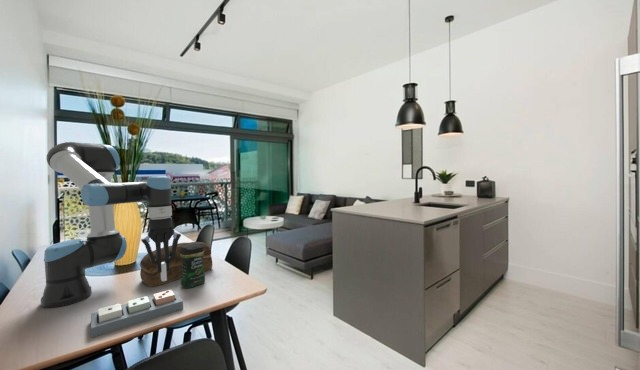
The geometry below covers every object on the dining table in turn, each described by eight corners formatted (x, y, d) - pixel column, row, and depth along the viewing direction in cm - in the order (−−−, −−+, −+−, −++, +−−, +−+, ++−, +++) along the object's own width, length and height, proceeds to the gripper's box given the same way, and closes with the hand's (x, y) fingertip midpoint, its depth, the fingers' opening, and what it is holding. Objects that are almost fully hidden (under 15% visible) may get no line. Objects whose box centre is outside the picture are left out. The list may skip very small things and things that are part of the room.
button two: (129, 314, 91) (129, 306, 91) (127, 308, 96) (127, 300, 95) (150, 308, 95) (149, 301, 95) (147, 302, 99) (147, 295, 99)
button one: (99, 323, 86) (98, 315, 86) (98, 316, 90) (98, 308, 90) (122, 316, 90) (121, 308, 90) (120, 310, 94) (120, 302, 94)
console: (91, 337, 82) (90, 328, 82) (91, 321, 91) (90, 313, 91) (183, 308, 99) (182, 300, 99) (175, 297, 108) (175, 290, 108)
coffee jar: (186, 290, 115) (185, 248, 114) (178, 285, 120) (176, 245, 119) (208, 283, 123) (206, 243, 122) (199, 279, 128) (198, 240, 127)
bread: (137, 281, 126) (135, 248, 126) (202, 263, 151) (201, 235, 150) (148, 289, 117) (146, 254, 116) (216, 268, 142) (215, 239, 141)
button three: (156, 306, 96) (156, 299, 96) (153, 300, 101) (153, 293, 101) (174, 301, 100) (174, 294, 100) (171, 295, 105) (170, 289, 105)
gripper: (141, 221, 92) (144, 288, 93) (182, 216, 101) (185, 277, 101) (138, 218, 98) (141, 282, 99) (177, 214, 106) (180, 272, 107)
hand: (163, 279), depth 100 cm, fingers closed
